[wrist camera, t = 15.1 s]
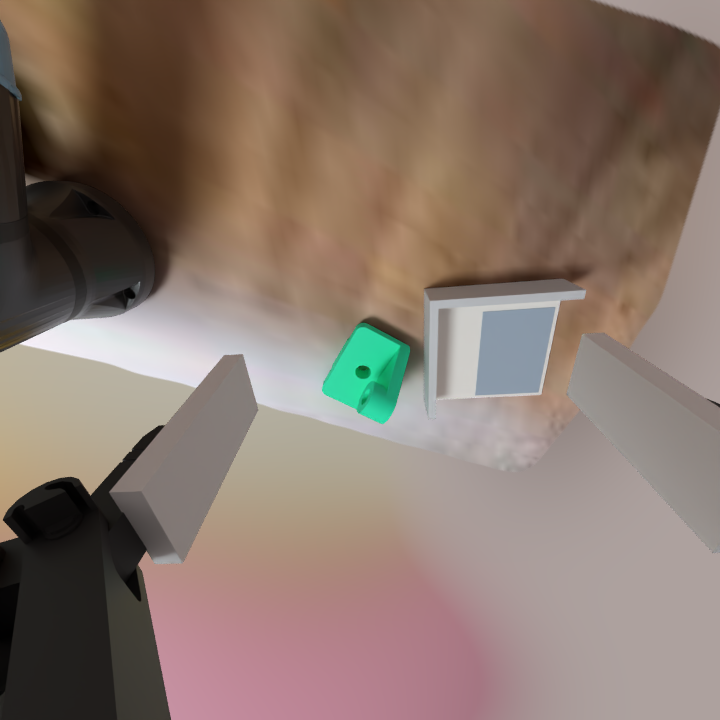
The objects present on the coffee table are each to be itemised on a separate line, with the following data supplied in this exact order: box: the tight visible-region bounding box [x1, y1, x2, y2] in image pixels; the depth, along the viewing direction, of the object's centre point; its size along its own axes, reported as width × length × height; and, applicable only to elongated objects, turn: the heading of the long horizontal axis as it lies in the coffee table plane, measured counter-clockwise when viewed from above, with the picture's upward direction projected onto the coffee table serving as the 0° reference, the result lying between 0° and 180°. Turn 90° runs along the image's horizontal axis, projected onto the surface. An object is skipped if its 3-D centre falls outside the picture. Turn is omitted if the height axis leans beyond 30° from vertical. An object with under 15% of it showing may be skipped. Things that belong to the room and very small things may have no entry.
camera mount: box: [322, 323, 410, 424], centre depth 43 cm, size 12×8×10 cm, turn 151°
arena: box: [424, 279, 586, 420], centre depth 43 cm, size 17×17×5 cm
